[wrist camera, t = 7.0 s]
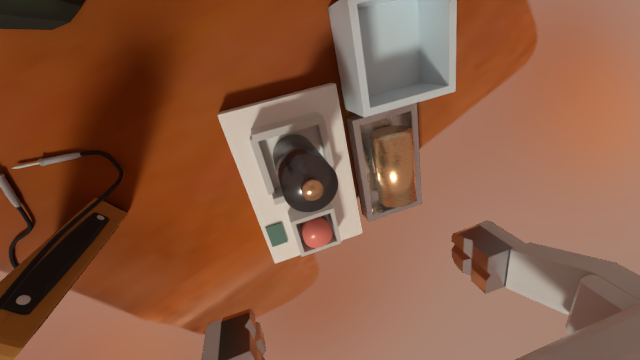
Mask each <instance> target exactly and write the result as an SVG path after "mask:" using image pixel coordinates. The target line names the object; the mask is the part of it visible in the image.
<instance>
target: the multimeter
mask: <svg viewBox="0 0 640 360" xmlns="http://www.w3.org/2000/svg"><path fill="white" fill-rule="evenodd" d="M90 154H99V155H103V156H105V157H106V158H108V159H109V160H110V161H111V162H112V163H113V164H114V165H115V166H116V168H117V169H118V171H119V178H118V180H117V181H116V182H115V184H114V185H113V186H112V187H111V188H110V189H109V190H108V191H107V192H105V193H104V194H103V195H102V196H101V197H100V198H94V199H93V200H92V201H90V202H89V203H88V204H87V205H86V206H85V207H84V208H83V209H81V210H80V211H79V212H78V213H77V214H76V215H75V216H73V217H72V218H71V219H70V220H69V221H68V222H67V223H66V224H64V225H63V226H62V227H61V228H60V229H59V230H58V231H57V232H55V233H54V234H53V235H52V236H51V237H50V238H49V239H48V240H46V241H45V242H44V243H43V244H42V245H41V246H40V247H39V248H37V249H36V250H35V251H34V252H33V253H32V254H31V255H30V256H29V257H27V258H26V259H25V260H24V261H23V262H22V263H21V264H20V265H17V264H16V262H15V259H14V246H15V244H16V243H17V242H18V241H19V240H20V239H21V238H23V237H24V236H26V235H27V234H29V233H30V232H31V230H32V228H33V225H32V222H31V221H30V219H29V217H28V216H27V214H26V213H25V211H24V210H23V208H22V207H21V203H20V201H19V199H18V197H17V196H16V194H15V192H14V191H13V189H12V188H11V186H10V185H9V183H8V181H7V180H6V178H5V175H4V174H0V187H1V188H2V190H3V191H4V193H5V194H6V196H7V198H8V199H9V201H10V202H11V203H12V204H13V205H14V206H15V207H16V208H17V209H18V210H19V212H20V213H21V215H22V216H23V218H24V219H25V221H26V222H27V225H28V230H27V231H26V232H25V233H24V234H22V235H21V236H19V237H18V238H16V239H15V240H14V241H13V242H12V243H11V245H10V247H9V258H10V262H11V264H12V266H13V267H14V268H15V269H14V270H13V271H12V272H11V273H9V274H8V275H7V276H6V277H5V278H4V279H3V280H2V281H1V282H0V360H14V358H15V357H16V356H17V355H18V354H19V352H20V351H21V350H22V348H23V347H24V346H25V345H26V344H27V342H28V341H29V340H30V339H31V337H32V336H33V335H34V334H35V333H36V331H37V330H38V329H39V328H40V327H41V325H42V324H43V323H44V322H45V320H46V319H47V318H48V316H49V315H50V314H51V313H52V311H53V310H54V308H55V307H56V306H57V305H58V304H59V302H60V301H61V300H62V298H63V297H64V296H65V294H66V293H67V292H68V291H69V289H70V288H71V287H72V286H73V284H74V283H75V282H76V280H77V279H78V278H79V277H80V275H81V274H82V273H83V271H84V270H85V269H86V268H87V266H88V265H89V264H90V262H91V261H92V260H93V259H94V257H95V256H96V255H97V253H98V252H99V251H100V250H101V248H102V247H103V246H104V244H105V243H106V242H107V241H108V239H109V238H110V237H111V235H112V234H113V233H114V232H115V230H116V229H117V228H118V226H119V224H120V223H121V222H122V221H123V219H124V218H125V217H126V215H127V213H126V212H124V211H122V210H120V209H118V208H116V207H114V206H112V205H110V204H109V203H107V202H105V201H103V200H104V199H105V198H106V197H107V196H108V195H109V194H110V193H111V192H112V191H113V190H114V189H115V188H116V187H117V186H118V184H119V183H120V182H121V179H122V177H123V170H122V169H121V167H120V166H119V165H118V163H117V162H116V161H115V160H114V159H113V158H112V157H111V156H109V155H108V154H106V153H104V152H100V151H88V152H82V153H80V152H79V153H70V154H65V155H59V156H54V157H49V158H44V159H43V158H40V159H39V160H38V162H34V163H29V164H25V165H20V166H16V167H13V168H23V167H27V166H32V165H37V164H40V165H41V166H45V165H47V164H52V163H57V162H62V161H67V160H72V159H76V158H79V157H82V156H84V155H90Z"/></svg>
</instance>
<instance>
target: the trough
mask: <svg viewBox="0 0 640 360" xmlns="http://www.w3.org/2000/svg"><path fill="white" fill-rule="evenodd" d="M346 123H347V128H348V134H349V140H350V146H351V152H352V157H353V163H354V169H355V175H356V181H357V186H358V192H359V198H360V204H361V210H362V214H363V215H364V217H365V218H366V219H367V221H368V222H370V221H373V220H376V219H379V218H381V217H385V216H388V215H391V214H393V213H396V212H399V211H402V210H405V209H408V208H411V207H414V206H417V205H420V204H422V198H421V179H420V178H421V177H420V157H419V137H418V117H417V103H413V104H410V105H406V106H403V107H399V108H396V109H393V110H389V111H386V112H382V113H379V114H375V115H372V116H368V117H365V118H364V117H362V116H360V115H357V114H356V115H353V116H349V117H346ZM395 125H403V126H408V127H411V128H412V129H413V144H414V161H415V178H416V195H417V198H416V200H415V201H414V202H413V203H412V204H410V205H408V206H405V207H398V208H393V207H387V206H384V205H382V204H381V203H380V202H379V200H378V193H377V186H376V178H375V171H374V164H373V156H372V149H371V141H370V134H371V133H372V132H373V131H375V130H377V129H380V128H383V127H387V126H395Z"/></svg>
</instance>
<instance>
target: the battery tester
mask: <svg viewBox="0 0 640 360" xmlns="http://www.w3.org/2000/svg"><path fill="white" fill-rule="evenodd" d="M217 116H218V119H219V121H220V124H221V126H222V129H223V131H224V134H225V136H226V139H227V142H228V144H229V147H230V149H231V152H232V154H233V157H234V160H235V162H236V165H237V167H238V170H239V172H240V175H241V178H242V180H243V183H244V185H245V188H246V190H247V193H248V196H249V198H250V201H251V203H252V206H253V208H254V211H255V214H256V216H257V219H258V221H259V224H260V226H261V229H262V232H263V234H264V237H265V239H266V242H267V244H268V247H269V250H270V252H271V255H272V257H273V260H274V262H275V264H276V263H278V262H281V261H284V260H287V259H290V258H293V257H296V256H298V255H301V257H303V256H305V255H308V254H311V253H314V252H317V251H320V250H322V249H325V248H328V247H331V246H334V245H337V244H340V243H342V242H341V240H344V239H347V238H350V237H352V236H356V235H358V234H361V233H362V227H361V222H360V216H359V210H358V205H357V199H356V193H355V188H354V182H353V177H352V171H351V165H350V160H349V154H348V149H347V143H346V137H345V132H344V126H343V121H342V115H341V109H340V104H339V98H338V93H337V87H336V84H335V83H328V84H324V85H320V86H316V87H312V88H309V89H305V90H301V91H297V92H293V93H290V94H286V95H282V96H278V97H274V98H271V99H267V100H263V101H259V102H255V103H252V104H248V105H244V106H240V107H236V108H233V109H229V110H225V111H221V112H219V113H218V115H217ZM291 134H298V135H302V136H304V137H306V138H307V139H308V140H309V141H310V142H311V143H312V144H313V145H314V147H315V148H316V149H317V150H318V151H319V153H320V154H321V155H322V156H323V157H324V159H325V160H326V161H327V162H328V163H329V165H330V166H331V167H332V168H333V170H334V171H335V173H336V175H337V178H338V190H337V193H336V195H335V197H334V198H333V200H332V201H331V202H330V203H329V204H328V205H327V206H326V207H324V208H322V209H320V210H318V211H314V212H301V211H298V210H295V209H293V208H292V207H291V206H290V205H288V203H287V202H286V200H285V199H284V196H283V193H282V189H281V186H280V182H279V179H278V175H277V172H276V168H275V165H274V161H273V149H274V147H275V145H276V143H277V142H278V141H279V140H280V139H281V138H283V137H285V136H287V135H291ZM323 215H324V216H325V217H326V219H327V221H328V223H329V225H330V227H331V229H332V232H333V234H332V238H331V240H330V241H329V242H328V243H327V244H326V245H325V246H323V247H319V248H312V247H309V246H308V245H307V244H306V243H305V241H304V238H303V235H302V232H301V229H300V225H301V223H302V222H305V221H308V220H311V219H314V218H317V217H320V216H323Z"/></svg>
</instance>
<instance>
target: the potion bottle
mask: <svg viewBox="0 0 640 360" xmlns="http://www.w3.org/2000/svg"><path fill="white" fill-rule="evenodd" d="M81 6H82V0H0V29H40V30H52V29H55V28H57V27H60V26H62V25H64V24H67V23H69V22H71V20H72V19H73V17H74V16H75V15H76V13H77V12H78V11H79V9H80V8H81Z"/></svg>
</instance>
